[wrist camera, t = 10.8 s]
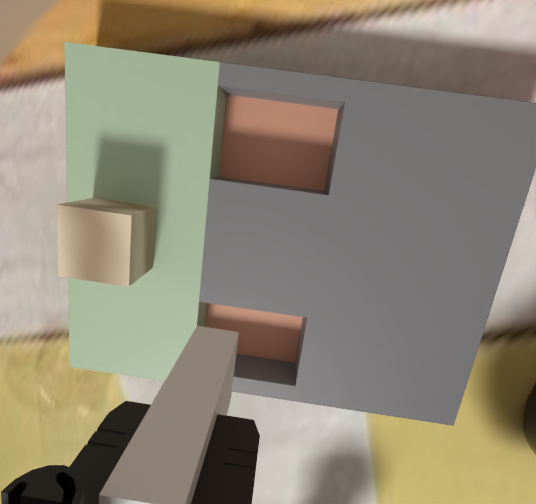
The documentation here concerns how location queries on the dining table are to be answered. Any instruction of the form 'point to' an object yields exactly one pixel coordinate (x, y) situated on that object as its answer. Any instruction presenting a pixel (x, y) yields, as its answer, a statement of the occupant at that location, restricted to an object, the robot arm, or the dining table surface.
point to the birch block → (105, 240)
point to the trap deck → (298, 225)
